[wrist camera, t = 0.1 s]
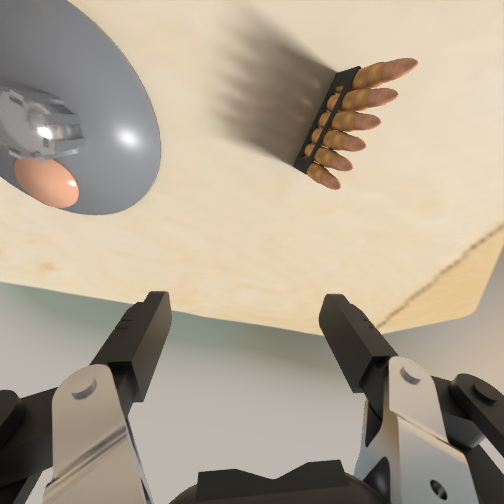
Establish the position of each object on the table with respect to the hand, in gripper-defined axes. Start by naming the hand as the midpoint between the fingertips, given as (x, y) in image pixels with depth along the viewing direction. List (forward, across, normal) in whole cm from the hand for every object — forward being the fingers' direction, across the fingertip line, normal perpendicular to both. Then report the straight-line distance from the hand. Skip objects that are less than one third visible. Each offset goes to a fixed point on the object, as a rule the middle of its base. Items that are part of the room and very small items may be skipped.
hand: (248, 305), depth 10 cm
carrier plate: (+21, +21, -8) cm, 31 cm away
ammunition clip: (+21, -10, -11) cm, 26 cm away
